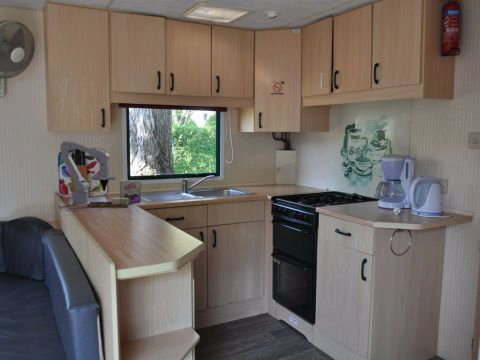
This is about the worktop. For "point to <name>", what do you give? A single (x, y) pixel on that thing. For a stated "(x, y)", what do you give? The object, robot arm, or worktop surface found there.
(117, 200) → the white block
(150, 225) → the worktop surface
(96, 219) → the worktop surface
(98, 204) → the walnut chute
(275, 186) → the worktop surface
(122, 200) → the sage block
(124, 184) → the candy box
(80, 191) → the robot arm
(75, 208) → the worktop surface
